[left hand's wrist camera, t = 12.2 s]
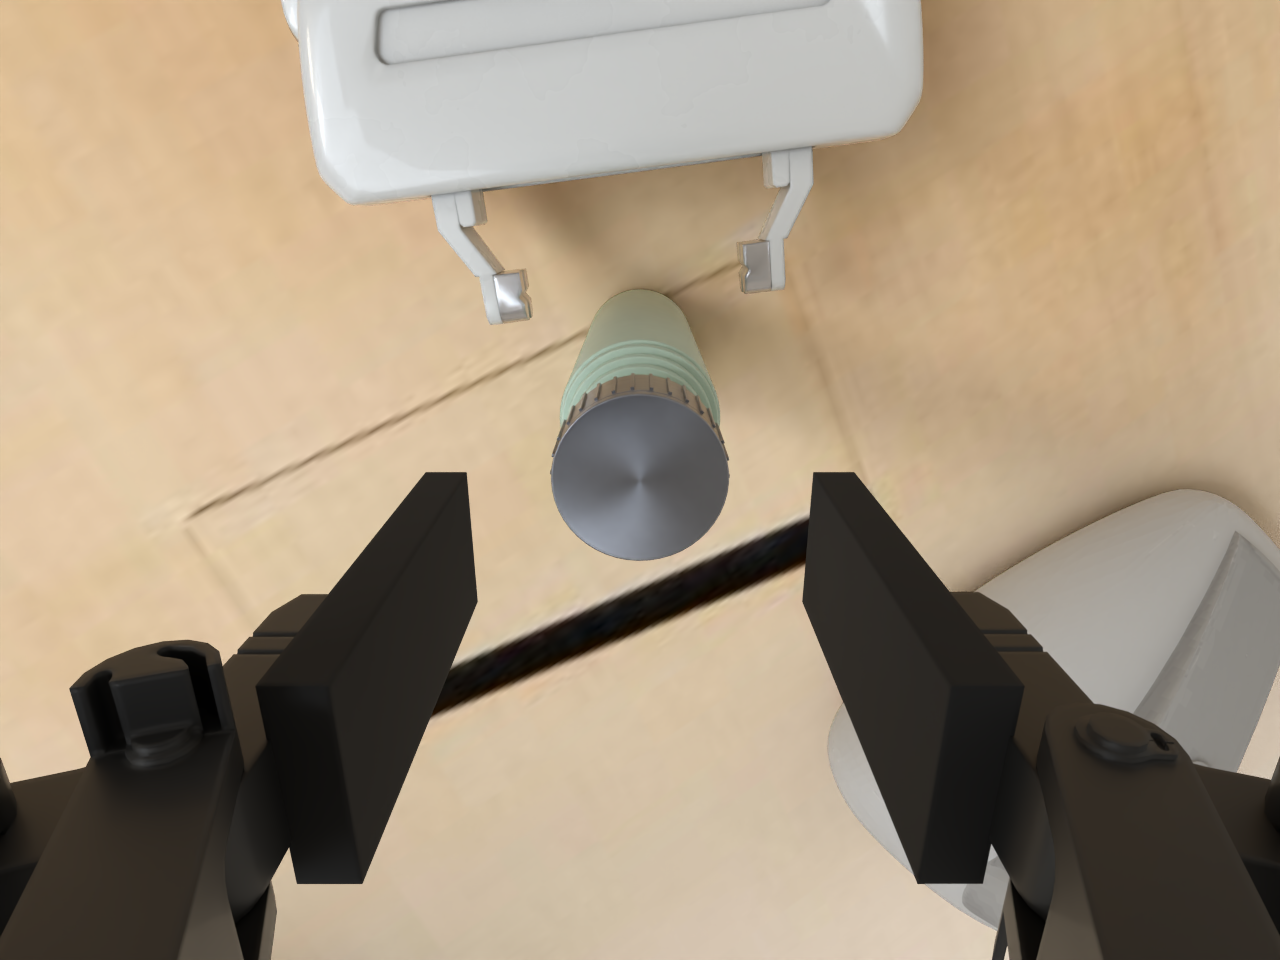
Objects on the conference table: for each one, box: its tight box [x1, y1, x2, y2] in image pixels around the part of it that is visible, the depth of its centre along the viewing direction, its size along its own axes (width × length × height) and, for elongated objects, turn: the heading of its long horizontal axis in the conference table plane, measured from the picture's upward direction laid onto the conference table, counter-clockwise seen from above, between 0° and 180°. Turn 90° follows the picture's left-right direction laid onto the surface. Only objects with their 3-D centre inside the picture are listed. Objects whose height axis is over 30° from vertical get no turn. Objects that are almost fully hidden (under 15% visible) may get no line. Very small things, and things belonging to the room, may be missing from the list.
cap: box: [550, 373, 730, 561], centre depth 18 cm, size 4×4×2 cm
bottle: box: [560, 289, 720, 426], centre depth 26 cm, size 5×5×18 cm
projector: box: [828, 489, 1280, 931], centre depth 34 cm, size 22×23×15 cm
